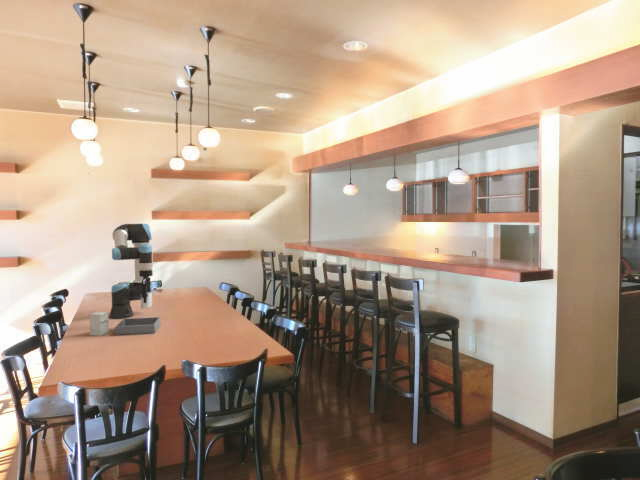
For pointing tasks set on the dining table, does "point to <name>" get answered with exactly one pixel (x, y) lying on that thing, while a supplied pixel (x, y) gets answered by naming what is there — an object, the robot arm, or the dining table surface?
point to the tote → (138, 326)
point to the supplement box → (99, 323)
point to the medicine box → (149, 295)
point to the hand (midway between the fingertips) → (146, 306)
